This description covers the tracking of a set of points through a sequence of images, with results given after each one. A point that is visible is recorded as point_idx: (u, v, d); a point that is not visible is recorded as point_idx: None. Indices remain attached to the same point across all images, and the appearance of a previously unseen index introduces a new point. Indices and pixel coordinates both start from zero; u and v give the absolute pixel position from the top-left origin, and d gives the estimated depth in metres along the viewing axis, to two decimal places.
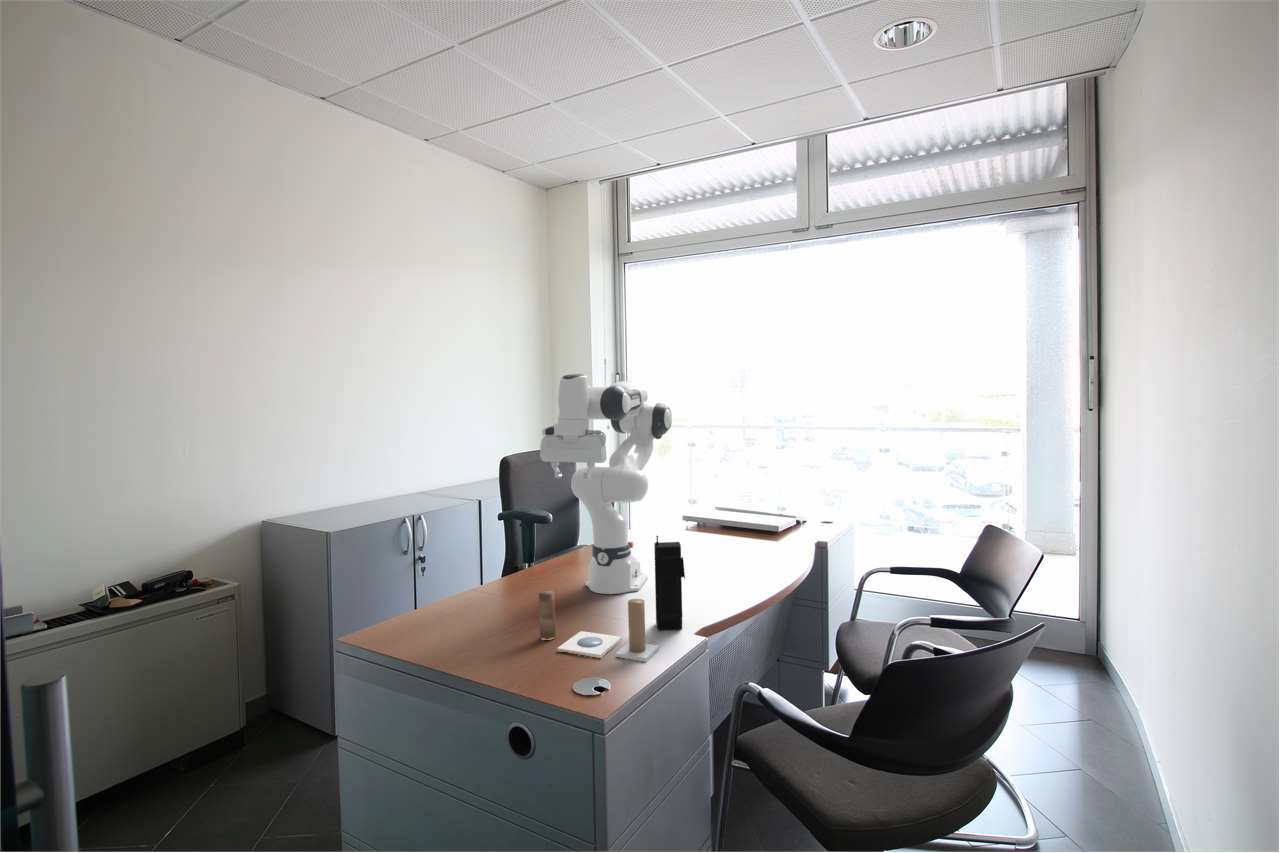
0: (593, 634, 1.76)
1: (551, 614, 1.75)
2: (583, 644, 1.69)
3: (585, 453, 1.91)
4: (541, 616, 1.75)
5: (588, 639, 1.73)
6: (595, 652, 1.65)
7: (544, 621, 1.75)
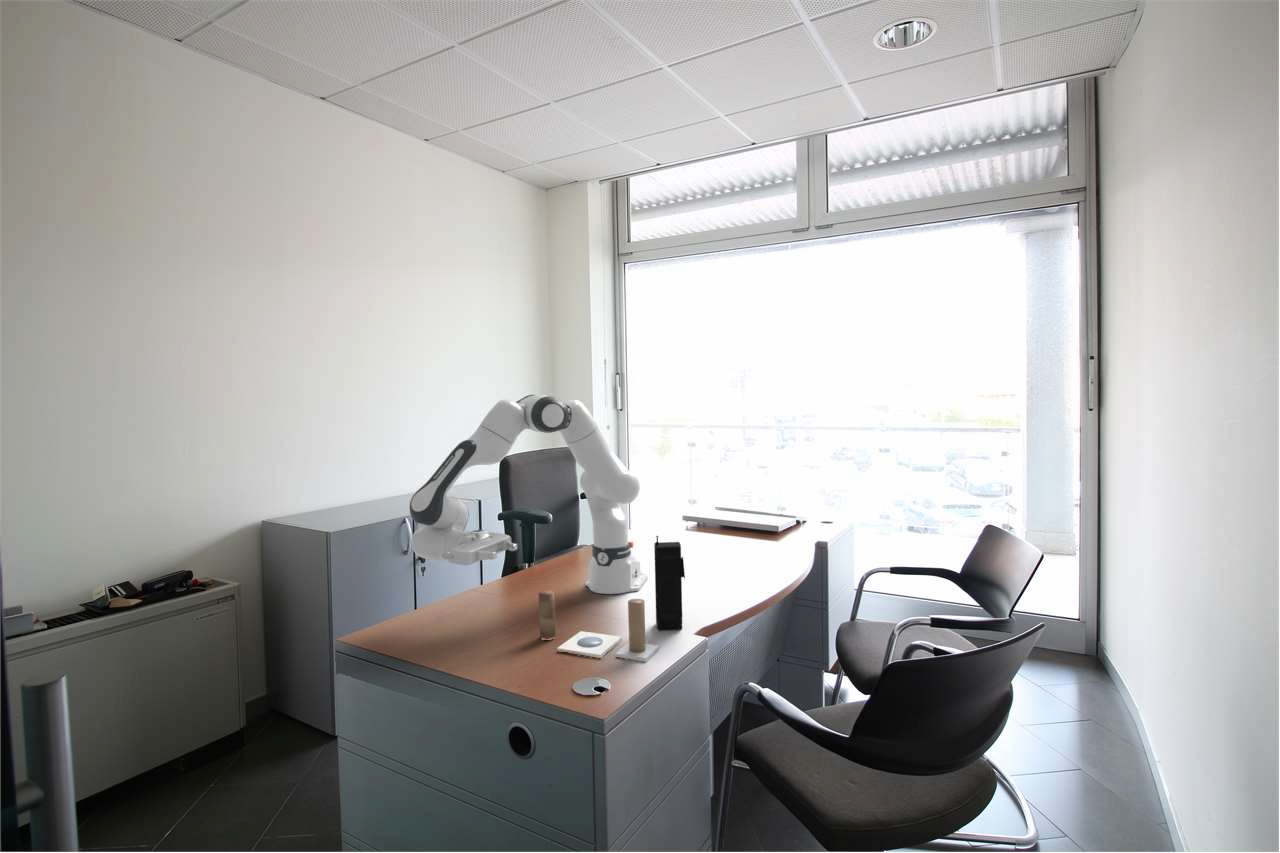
0: (593, 634, 1.76)
1: (551, 614, 1.75)
2: (583, 644, 1.69)
3: None
4: (541, 616, 1.75)
5: (588, 639, 1.73)
6: (595, 652, 1.65)
7: (544, 621, 1.75)
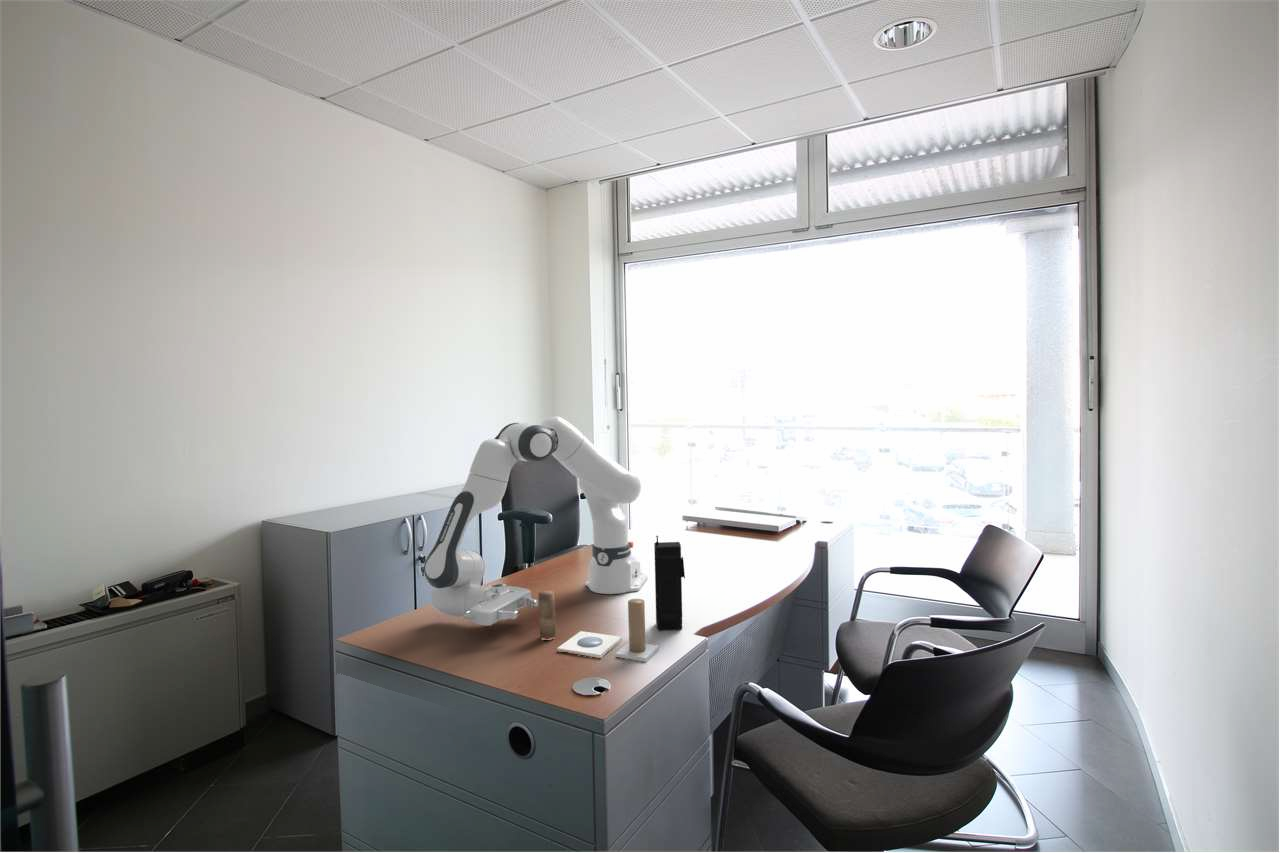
0: (593, 634, 1.76)
1: (551, 614, 1.75)
2: (583, 644, 1.69)
3: None
4: (541, 616, 1.75)
5: (588, 639, 1.73)
6: (595, 652, 1.65)
7: (544, 621, 1.75)
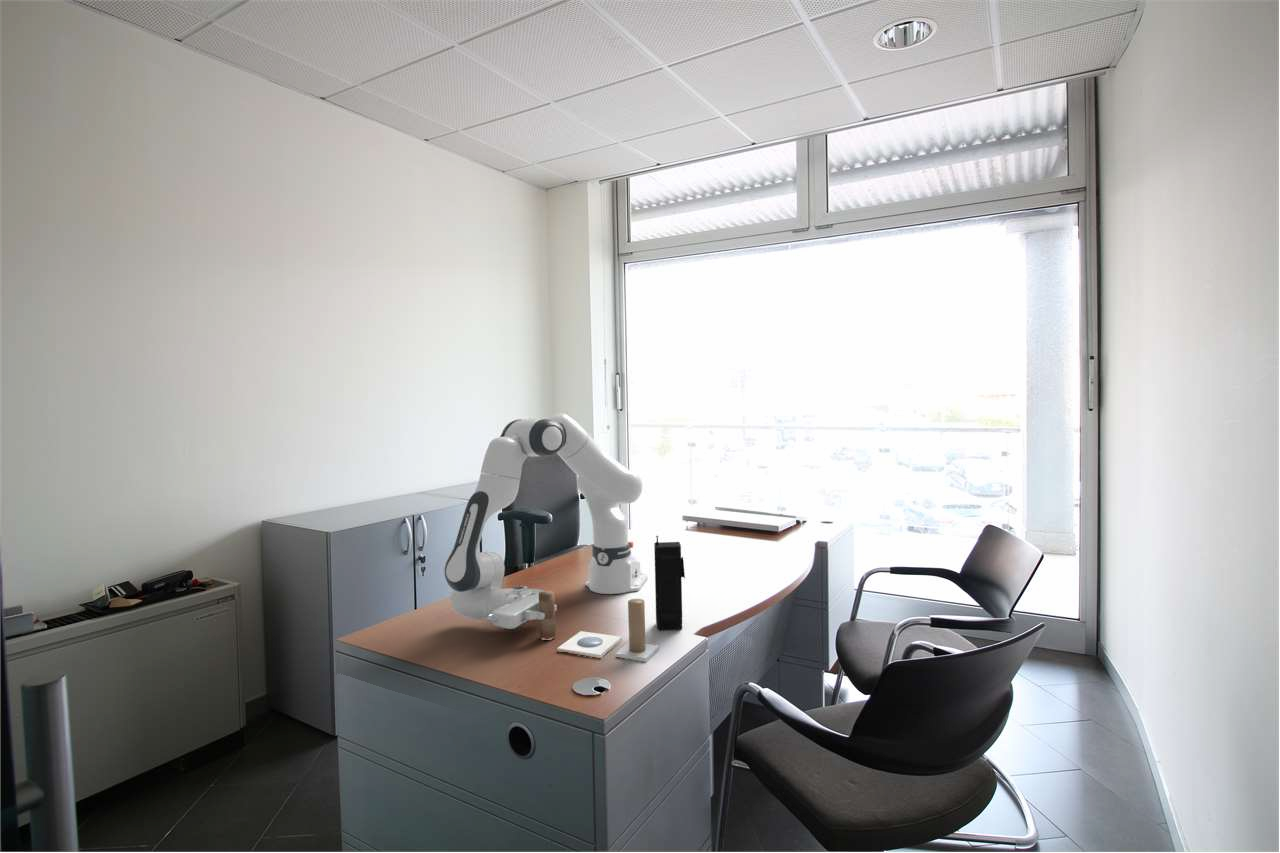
0: (593, 634, 1.76)
1: (551, 614, 1.75)
2: (583, 644, 1.69)
3: None
4: None
5: (588, 639, 1.73)
6: (595, 652, 1.65)
7: (544, 621, 1.75)
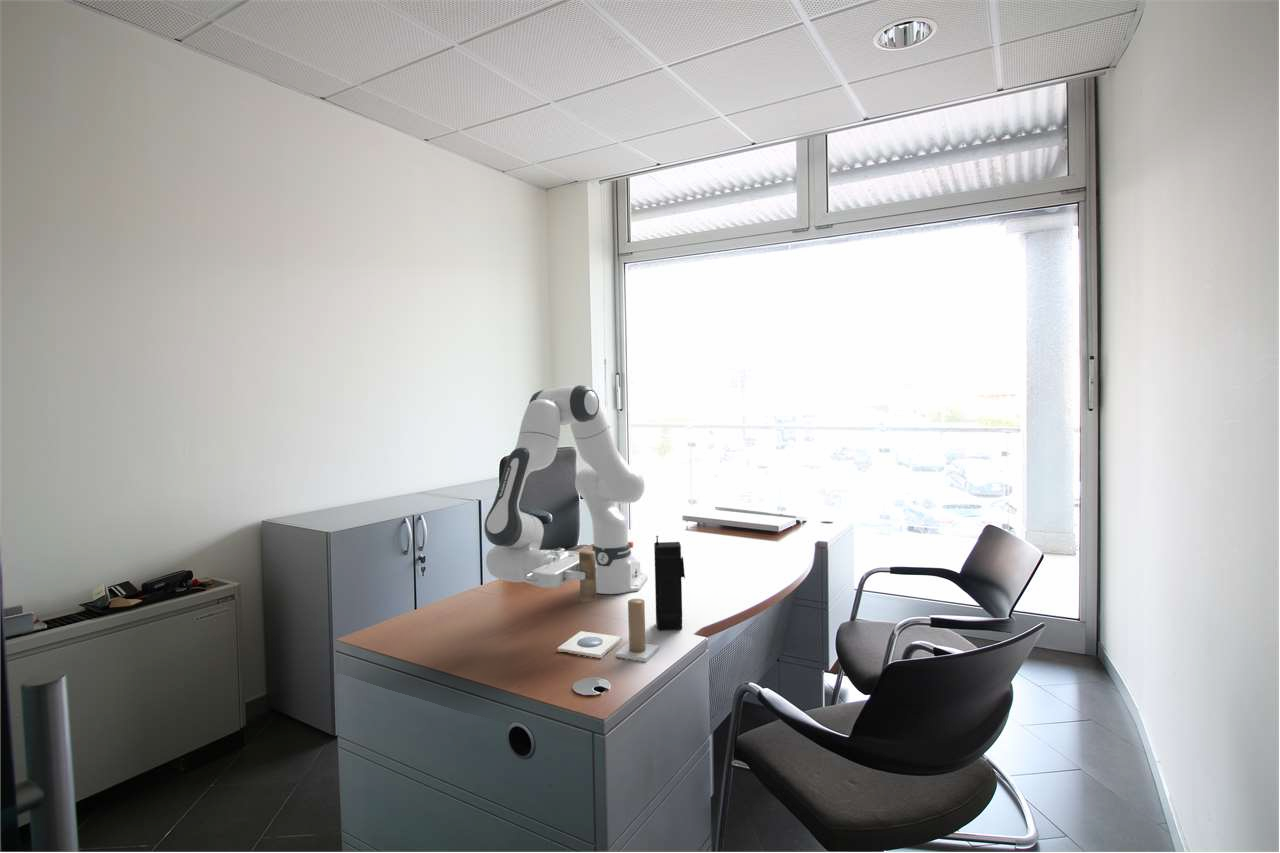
0: (593, 634, 1.76)
1: (592, 575, 1.68)
2: (583, 644, 1.69)
3: None
4: None
5: (588, 639, 1.73)
6: (595, 652, 1.65)
7: (585, 582, 1.68)
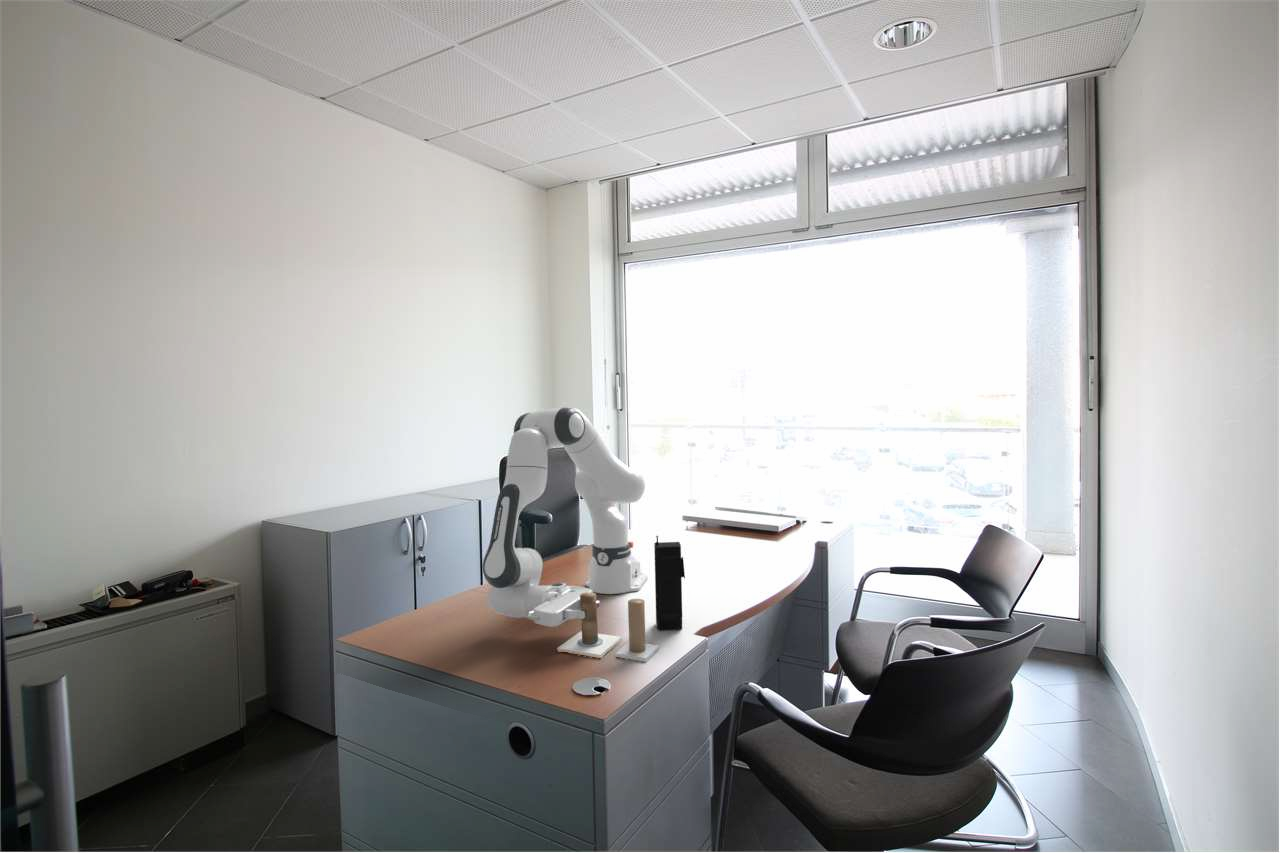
0: None
1: (593, 617, 1.69)
2: (583, 644, 1.69)
3: None
4: (583, 619, 1.69)
5: None
6: (595, 652, 1.65)
7: (586, 624, 1.69)
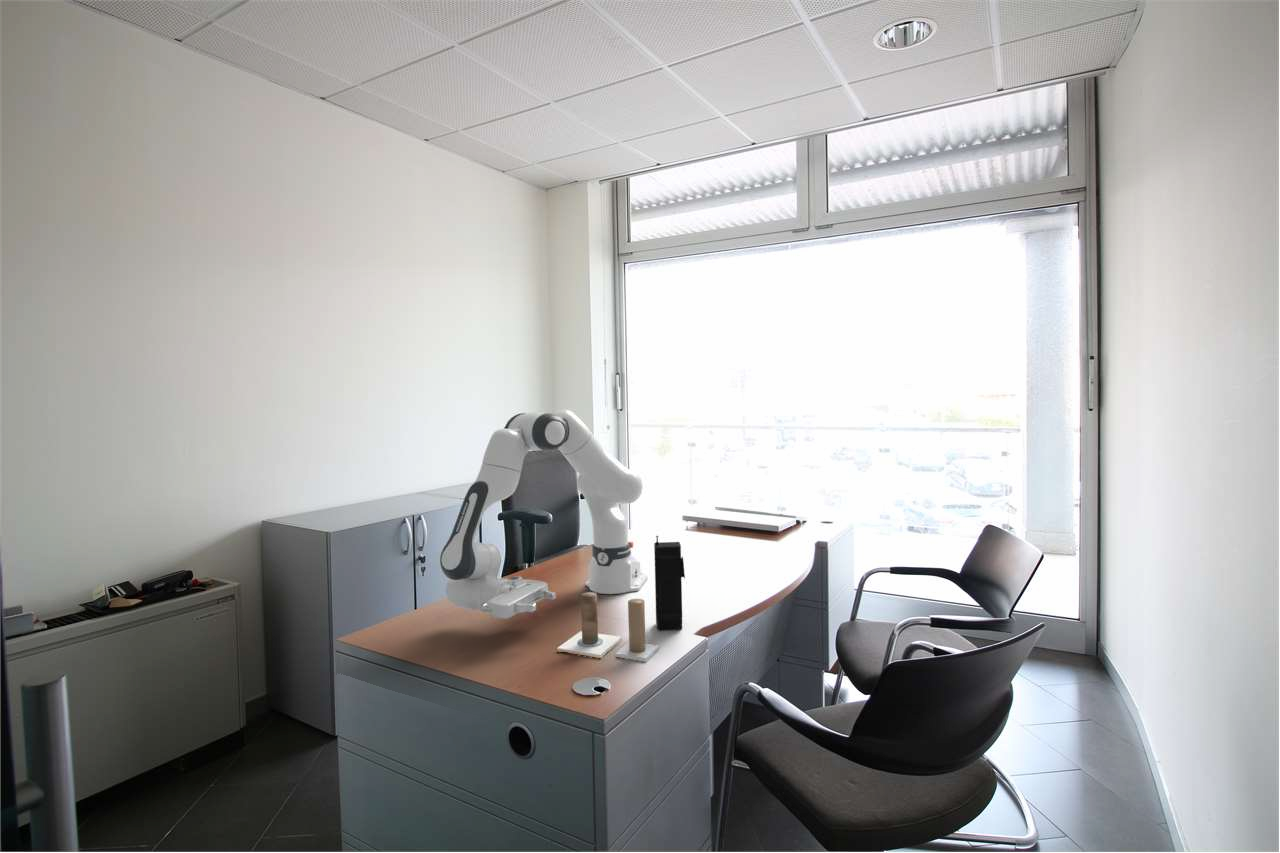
0: None
1: (594, 617, 1.69)
2: (583, 644, 1.69)
3: None
4: (584, 619, 1.69)
5: None
6: (595, 652, 1.65)
7: (586, 624, 1.69)
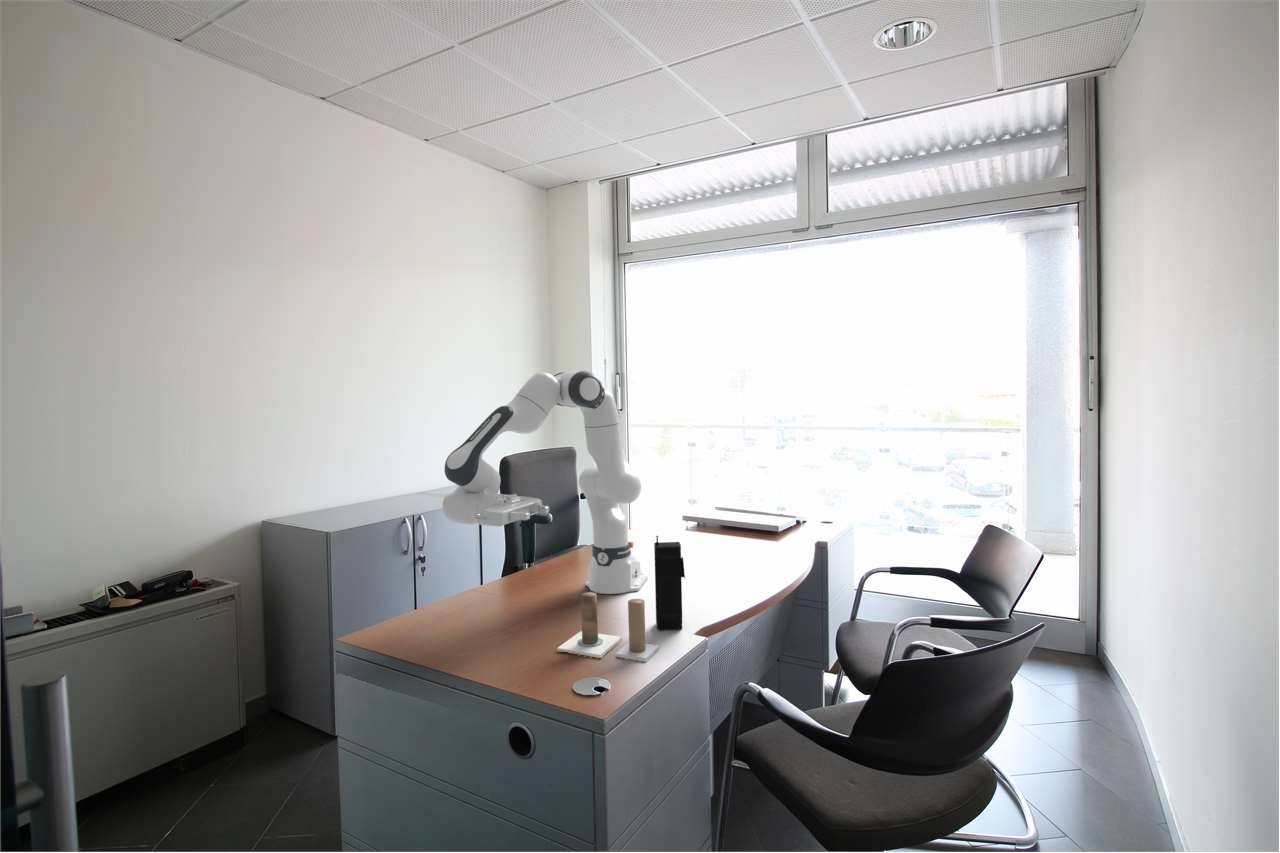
0: None
1: (593, 617, 1.69)
2: (583, 644, 1.69)
3: None
4: (583, 619, 1.69)
5: None
6: (595, 652, 1.65)
7: (586, 624, 1.69)
